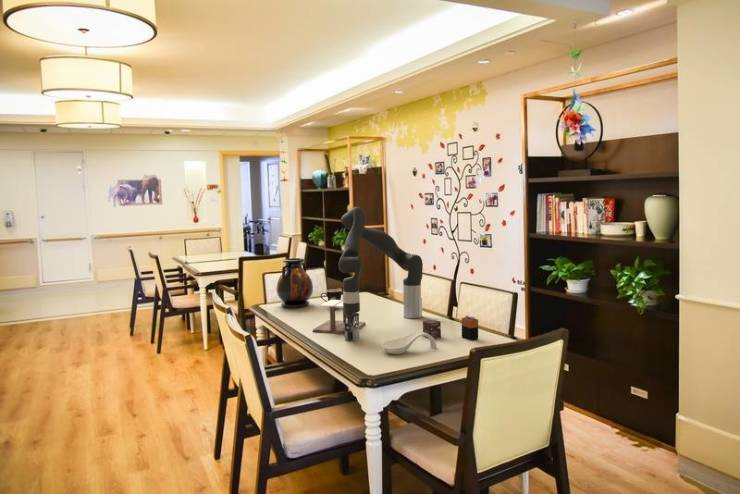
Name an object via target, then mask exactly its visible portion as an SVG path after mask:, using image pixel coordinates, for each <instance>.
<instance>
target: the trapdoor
mask: <svg viewBox="0 0 740 494" xmlns="http://www.w3.org/2000/svg"><path fill="white" fill-rule="evenodd" d="M330 306H335V308H338V309H343V299H341V300H330V301H328V300H327V302H324V303H321V304H320V305H319V308H324V309H325V308H329V309H330Z"/></svg>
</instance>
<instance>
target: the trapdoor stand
mask: <svg viewBox="0 0 740 494" xmlns="http://www.w3.org/2000/svg"><path fill="white" fill-rule="evenodd" d="M346 316H347V313H346V312H344V311H343V310H342V320H336V309H335V306H330V308H329V320H326V321H325V322H322V323H321V324H320V325H317V326H316V327H314V328H313V329H312V333H326V334H337V335H341V334H342V335H345V324H344V319H346ZM365 325H366V321H359V326H357V327H359V330H360V329H362V328H363V327H364V326H365Z"/></svg>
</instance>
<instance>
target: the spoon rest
mask: <svg viewBox="0 0 740 494" xmlns="http://www.w3.org/2000/svg"><path fill="white" fill-rule="evenodd" d="M424 336H426V337H428V338H427V339H428V340H429V345H430V347H431V348H433V349H437V341H436V340H435V338H433V337H432V336H430V335H428V334H427V333H424V332H423V331H417V332H414V333H410V334H407V335H405V336H402V337H398V338H395V339H394V338H393V339H391V340H387V341H384V342H382V343H381V348H382V349H383V350H384V351H385V352H386V353H388V354H391V355H403V354H405V352H407V351H408V349H409V348H410V347H411V345H412V344H413V343H414V342H416V340H417V339H418V338H420V337H424ZM426 337H425V338H426Z"/></svg>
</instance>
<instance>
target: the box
mask: <svg viewBox="0 0 740 494" xmlns="http://www.w3.org/2000/svg"><path fill="white" fill-rule="evenodd" d="M441 323H442V322H441V321H440V320H436V319H427V320H422V332H424V333H427V334H428V335H430V336H432V337H433V338H434V339H439V338H440V339H441V337H442V331H441V326H442V325H441ZM423 337H424V338H427V339H429V338H428V337H426V336H423Z"/></svg>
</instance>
